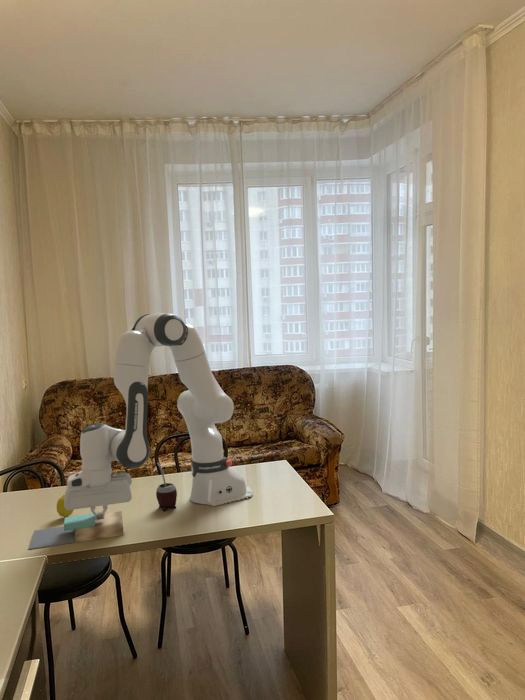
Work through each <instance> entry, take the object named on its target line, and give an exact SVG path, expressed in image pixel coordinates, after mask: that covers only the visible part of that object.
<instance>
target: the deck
mask: <svg viewBox="0 0 525 700" xmlns="http://www.w3.org/2000/svg"><path fill="white" fill-rule="evenodd" d="M104 515H105V519H100V520H95V526H92V527H86V528H80V529H76V530H75V543H81V542H88V541H94V540H99V539H100V540H101V539H105V538H106V539H107V538H113V537H119V536H124V535H125V532H124V531H125V530H124V522H123V512H122V510H120V511H119V510H118V511H113V512H105V514H104Z"/></svg>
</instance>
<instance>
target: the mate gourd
mask: <svg viewBox="0 0 525 700" xmlns="http://www.w3.org/2000/svg"><path fill="white" fill-rule="evenodd" d="M156 464H157V465H158V467H159V469H160V473H161V475H162V480H163V483H161V484H159V485H158V486H157V489H156V494H155V496H156V500H157V502H158V509H163V510H162V512H166V511H168V510H169V509H177V506H176V505H177V499H178V498H177V497H178V491H177V488H176V486H175V484H174V483H171V482H167V483H166V479H165V473H164V470H163V468H162V466H161V465H160V463H159V462H158V461H157V462H156Z"/></svg>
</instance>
